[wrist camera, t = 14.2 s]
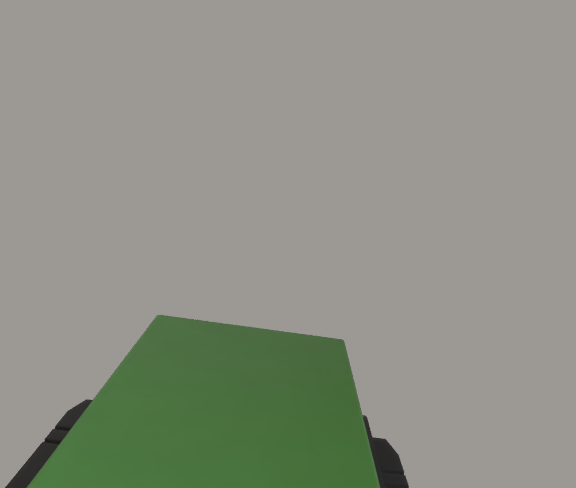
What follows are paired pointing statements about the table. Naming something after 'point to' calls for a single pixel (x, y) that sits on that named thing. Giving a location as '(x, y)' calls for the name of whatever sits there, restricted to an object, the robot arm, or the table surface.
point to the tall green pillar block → (220, 415)
